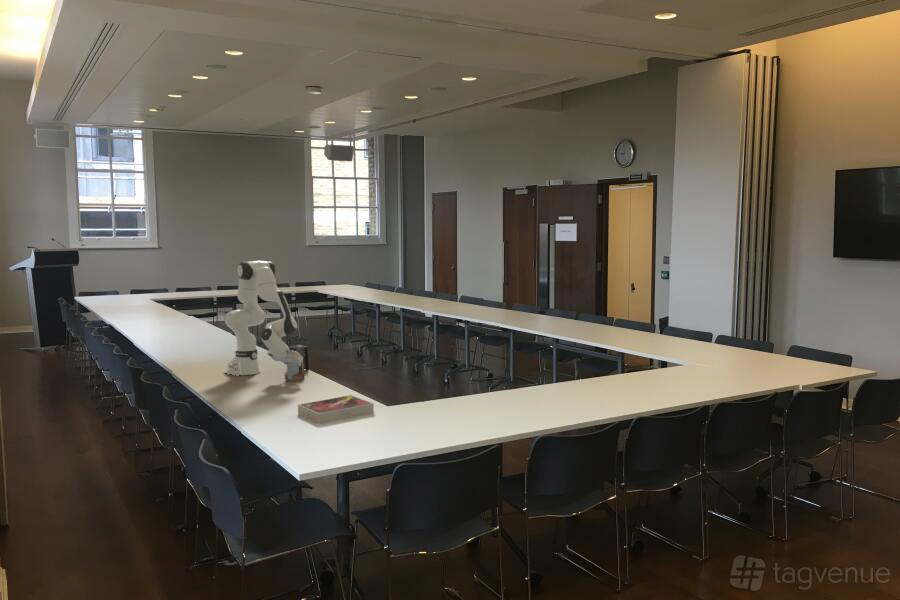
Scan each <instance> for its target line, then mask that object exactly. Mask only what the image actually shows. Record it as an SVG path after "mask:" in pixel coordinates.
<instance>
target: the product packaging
mask: <svg viewBox="0 0 900 600" xmlns="http://www.w3.org/2000/svg"><path fill="white" fill-rule="evenodd" d="M374 409H375V408H374V402H370V401H367V400H365V399H363V398H360V397H357V396H355V395H352V394H349V395H344V396H338V397H333V398H327V399H323V400H322V399H321V400H316V401H310V402H305V403H300V404H297V414H298V415H299V414H300V416H301V415H302V417H303V416H304V418H305V419H308V420H310V421H312V422H314V423H317V424H319V425H320V424H325V423H330V422H331V423H332V422H335V421H339V420H345V419H349V418H350V419H351V418H355V417H360V416H365V415H371V414H374V413H375V412H374V411H375V410H374Z"/></svg>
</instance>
